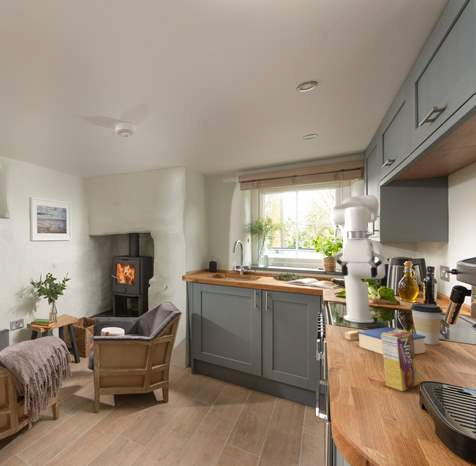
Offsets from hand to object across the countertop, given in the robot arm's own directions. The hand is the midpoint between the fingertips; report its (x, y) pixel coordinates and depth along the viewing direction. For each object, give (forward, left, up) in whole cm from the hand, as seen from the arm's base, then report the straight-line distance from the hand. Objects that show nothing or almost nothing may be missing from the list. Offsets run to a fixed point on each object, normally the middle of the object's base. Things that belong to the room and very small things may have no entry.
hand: (359, 276), depth 122 cm
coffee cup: (-23, +8, -28) cm, 37 cm away
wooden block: (-5, -5, -27) cm, 28 cm away
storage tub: (-1, +9, -27) cm, 29 cm away
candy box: (+27, +30, -28) cm, 49 cm away
